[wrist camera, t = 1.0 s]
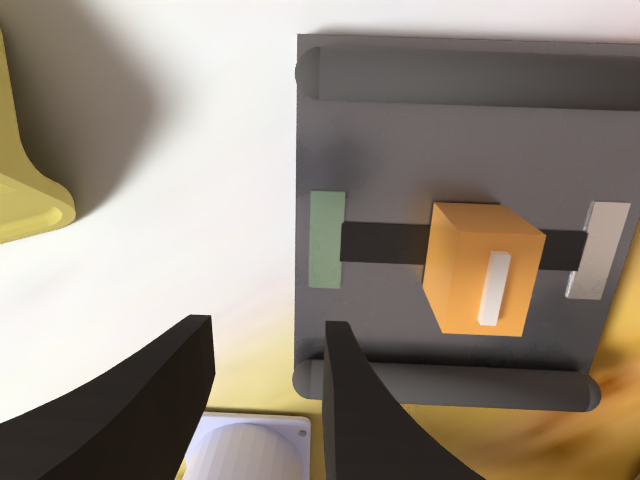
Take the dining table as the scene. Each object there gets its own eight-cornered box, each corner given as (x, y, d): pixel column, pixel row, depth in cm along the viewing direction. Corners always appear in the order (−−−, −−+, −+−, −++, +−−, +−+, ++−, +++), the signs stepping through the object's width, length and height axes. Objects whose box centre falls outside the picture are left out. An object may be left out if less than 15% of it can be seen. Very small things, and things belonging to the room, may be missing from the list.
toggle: (487, 290, 20) (525, 342, 16) (422, 287, 20) (444, 338, 16) (504, 204, 19) (551, 239, 15) (433, 202, 19) (462, 235, 15)
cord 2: (674, 111, 17) (715, 114, 15) (296, 98, 18) (292, 100, 16) (691, 59, 17) (736, 56, 15) (297, 47, 17) (292, 43, 15)
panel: (567, 386, 24) (580, 403, 23) (295, 373, 24) (293, 389, 23) (672, 48, 17) (698, 46, 16) (299, 36, 18) (297, 33, 17)
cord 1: (581, 394, 23) (603, 421, 21) (294, 380, 23) (290, 406, 21) (591, 364, 22) (615, 390, 20) (294, 351, 22) (290, 375, 20)
